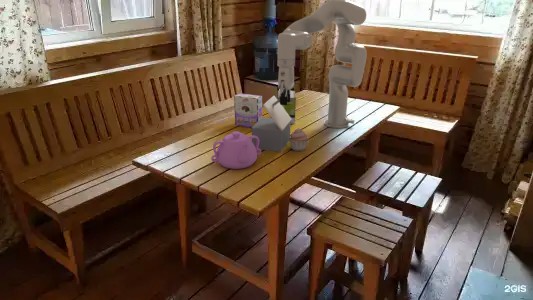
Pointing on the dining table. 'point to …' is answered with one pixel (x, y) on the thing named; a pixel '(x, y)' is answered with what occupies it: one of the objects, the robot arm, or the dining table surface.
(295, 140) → the cupcake
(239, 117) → the candy box
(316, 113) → the dining table surface
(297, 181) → the dining table surface
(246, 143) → the purple round pot
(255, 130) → the carton
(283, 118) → the lid flap
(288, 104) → the tea box
